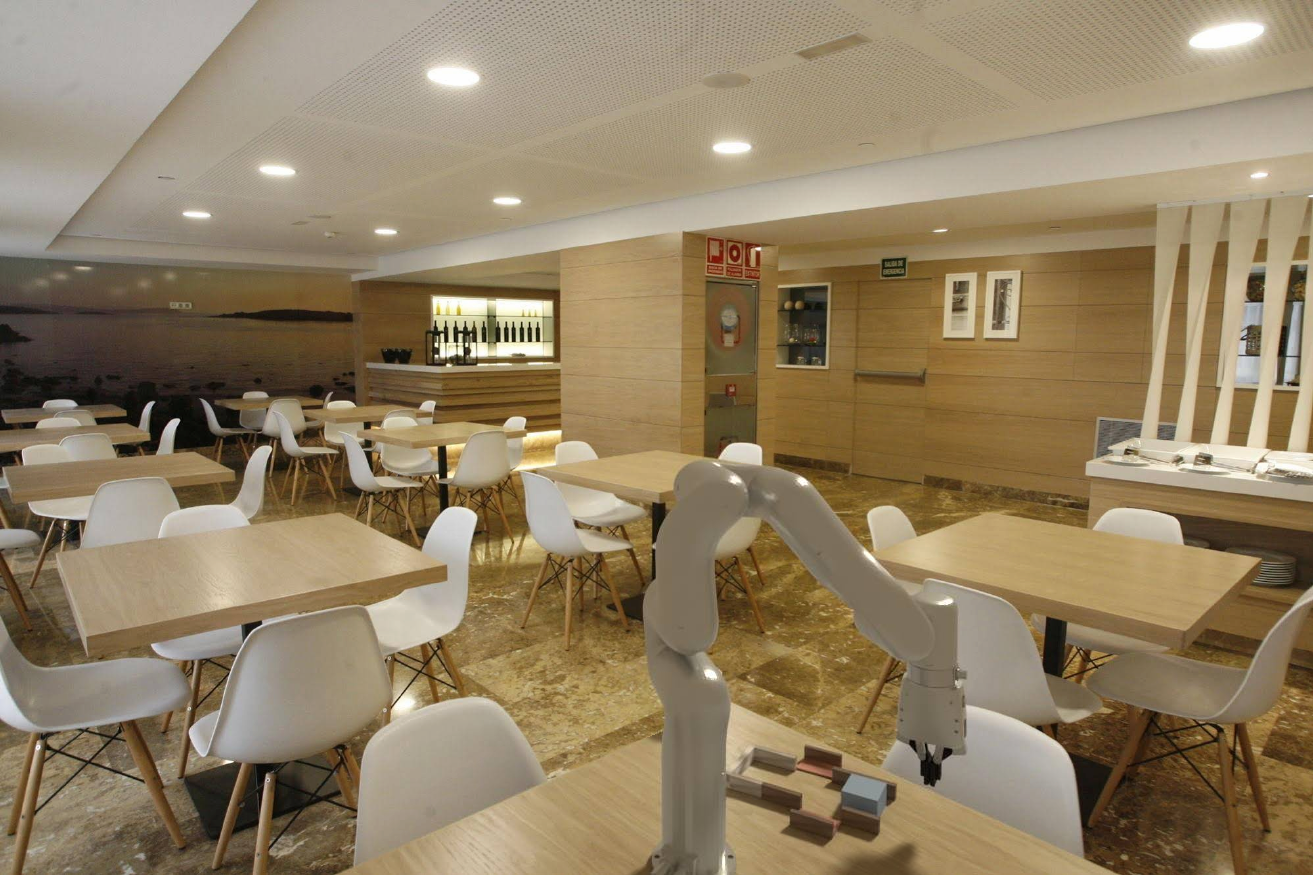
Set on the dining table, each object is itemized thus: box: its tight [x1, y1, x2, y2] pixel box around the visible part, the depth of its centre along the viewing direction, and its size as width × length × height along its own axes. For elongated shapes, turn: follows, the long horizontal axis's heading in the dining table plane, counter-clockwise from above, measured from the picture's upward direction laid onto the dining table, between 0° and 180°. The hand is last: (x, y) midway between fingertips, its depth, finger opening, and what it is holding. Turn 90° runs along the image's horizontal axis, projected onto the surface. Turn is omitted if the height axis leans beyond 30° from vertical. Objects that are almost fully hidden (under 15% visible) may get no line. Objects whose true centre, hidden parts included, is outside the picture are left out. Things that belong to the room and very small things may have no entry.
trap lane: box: [726, 743, 898, 840], centre depth 132 cm, size 22×27×2 cm
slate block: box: [840, 774, 887, 817], centre depth 127 cm, size 6×6×4 cm
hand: (930, 781), depth 122 cm, fingers closed
